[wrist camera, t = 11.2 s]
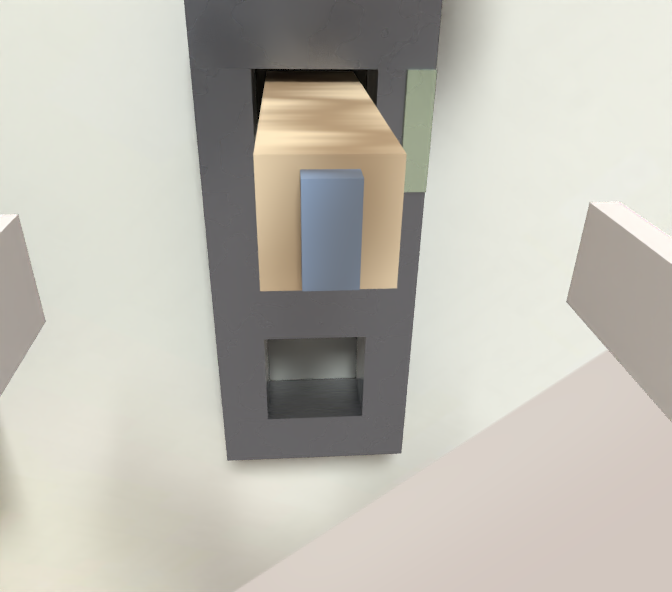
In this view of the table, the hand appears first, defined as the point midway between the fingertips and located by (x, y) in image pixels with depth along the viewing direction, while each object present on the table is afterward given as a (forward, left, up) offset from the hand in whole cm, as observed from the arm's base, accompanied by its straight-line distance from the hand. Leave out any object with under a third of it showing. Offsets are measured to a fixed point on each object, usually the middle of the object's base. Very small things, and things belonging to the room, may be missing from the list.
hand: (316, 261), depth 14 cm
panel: (0, -7, -17) cm, 18 cm away
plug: (0, 0, -17) cm, 17 cm away
